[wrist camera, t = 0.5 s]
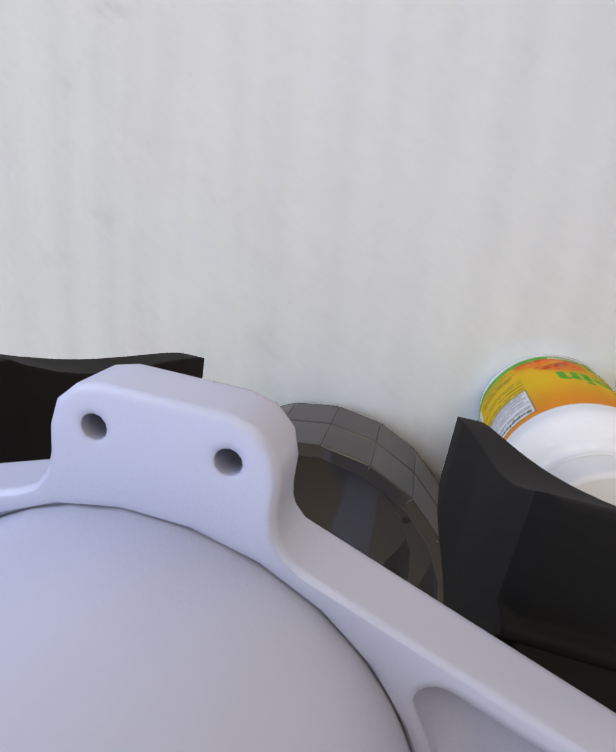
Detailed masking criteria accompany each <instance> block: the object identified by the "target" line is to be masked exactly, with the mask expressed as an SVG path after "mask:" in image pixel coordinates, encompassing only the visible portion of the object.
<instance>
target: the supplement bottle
mask: <svg viewBox="0 0 616 752" xmlns="http://www.w3.org/2000/svg"><path fill="white" fill-rule="evenodd" d="M479 422H483V423H485V424H486V425H488V426H489V427H490V428H492V429H493V430H494V431H495V432H497V433H498V434H499V435H500V436H501V437H503V438H504V439H505V440H506V441H507V442H508V443H510V444H511V445H512V446H513V447H515V448H516V449H517V450H518V451H520V452H521V453H522V454H523V455H525V456H526V457H527V458H529V459H530V460H531V461H533V462H534V463H536V464H537V465H538V466H540V467H541V468H543V469H544V470H546V471H547V472H549V473H551V474H552V475H554V476H556V477H557V478H559V479H561V480H563V481H564V482H566V483H568V484H569V485H571V486H573V487H575V488H577V489H579V490H581V491H583V492H585V493H588V494H590V495H592V496H594V497H596V498H598V499H601V500H603V501H605V502H607V503H610V504H612V505H615V506H616V393H615V392H614V391H613V390H612V389H611V388H610V387H609V386H608V385H607V384H606V383H605V382H604V381H603V380H602V379H601V378H600V377H599V376H598V375H597V374H596V373H595V372H593V371H592V370H591V369H590V368H588V367H587V366H585V365H584V364H582V363H580V362H578V361H576V360H573V359H571V358H567V357H563V356H558V355H536V356H530V357H526V358H523V359H520V360H518V361H516V362H514V363H512V364H510V365H508V366H507V367H505V368H504V369H502V370H501V371H500V372H499V373H498V374H497V375H496V376H495V377H494V378H493V379H492V380H491V381H490V383H489V384H488V385H487V387H486V389H485V391H484V393H483V395H482V398H481V401H480V406H479Z"/></svg>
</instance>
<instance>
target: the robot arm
mask: <svg viewBox="0 0 616 752" xmlns="http://www.w3.org/2000/svg"><path fill="white" fill-rule="evenodd" d="M203 366H204V358H201V357H197V356H193V355H188V354H183V353H158V354H148V355H138V356H128V357H115V358H102V359H45V358H31V357H18V356H9V355H2V354H0V752H616V506H615V505H612V504H610V503H607V502H605V501H603V500H601V499H598V498H596V497H594V496H592V495H590V494H588V493H585V492H583V491H581V490H579V489H577V488H575V487H573V486H571V485H569V484H568V483H566V482H564V481H563V480H561V479H559V478H557V477H556V476H554V475H552V474H551V473H549V472H547V471H546V470H544V469H543V468H541V467H540V466H538V465H537V464H536V463H534V462H533V461H531V460H530V459H529V458H527V457H526V456H525V455H523V454H522V453H521V452H520V451H518V450H517V449H516V448H515V447H513V446H512V445H511V444H510V443H508V442H507V441H506V440H505V439H504V438H503V437H501V436H500V435H499V434H498V433H497V432H495V431H494V430H493V429H492V428H490V427H489V426H488V425H486V424H485V423H483V422H479V421H475V420H470V419H466V418H462V417H458V418H457V422H456V425H455V429H454V433H453V436H452V440H451V443H450V447H449V450H448V454H447V457H446V461H445V465H444V468H443V472H442V475H441V479H440V482H439V491H438V505H437V519H438V531H439V542H440V553H441V563H442V574H443V604H442V603H440V602H439V601H437V600H436V599H434V598H433V597H431V596H429V595H428V594H426V593H425V592H423V591H421V590H420V589H418V588H417V587H415V586H414V585H412V584H410V583H409V582H407V581H406V580H404V579H402V578H401V577H399V576H398V575H396V574H395V573H393V572H391V571H390V570H388V569H387V568H385V567H383V566H382V565H380V564H379V563H377V562H376V561H374V560H372V559H371V558H369V557H368V556H366V555H365V554H363V553H361V552H360V551H358V550H357V549H355V548H353V547H352V546H350V545H349V544H347V543H346V542H344V541H342V540H341V539H339V538H338V537H336V536H334V535H333V534H331V533H330V532H328V531H327V530H325V529H323V528H322V527H320V526H319V525H317V524H316V523H314V522H312V521H311V520H309V519H308V518H306V517H305V516H304V514H303V513H302V512H301V510H300V509H299V507H298V506H297V504H296V502H295V498H294V494H293V491H294V477H295V471H296V465H297V459H298V447H297V438H296V430H295V426H294V425H293V424H292V422H291V421H290V419H289V418H288V417H287V415H286V414H285V412H284V411H283V410H282V408H281V407H280V405H279V404H278V403H276V402H274V401H272V400H270V399H268V398H266V397H264V396H262V395H260V394H258V393H256V392H254V391H252V390H248V389H244V388H240V387H236V386H231V385H227V384H223V383H219V382H215V381H210V380H206V379H202V377H203Z"/></svg>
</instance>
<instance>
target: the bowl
mask: <svg viewBox="0 0 616 752" xmlns="http://www.w3.org/2000/svg"><path fill="white" fill-rule="evenodd" d="M280 407H281V408H282V410H283V411H284V412H285V414H286V415H287V417H288V418H289V419H290V421H291V422H292V424H293V425H294V426H295V430H296V438H297V447H298V459H297V465H296V471H295V477H294V491H293V494H294V498H295V502H296V504H297V506H298V507H299V509H300V510H301V512H302V513H303V514H304V516H305V517H306V518H308V519H309V520H311V521H312V522H314V523H316V524H317V525H319V526H320V527H322V528H323V529H325V530H327V531H328V532H330V533H331V534H333V535H334V536H336V537H338V538H339V539H341V540H342V541H344V542H346V543H347V544H349V545H350V546H352V547H353V548H355V549H357V550H358V551H360V552H361V553H363V554H365V555H366V556H368V557H369V558H371V559H372V560H374V561H376V562H377V563H379V564H380V565H382V566H383V567H385V568H387V569H388V570H390V571H391V572H393V573H395V574H396V575H398V576H399V577H401V578H402V579H404V580H406V581H407V582H409V583H410V584H412V585H414V586H415V587H417V588H418V589H420V590H421V591H423V592H425V593H426V594H428V595H429V596H431V597H433V598H434V599H436V600H437V601H439V602H440V603H442V604H443V574H442V563H441V553H440V542H439V531H438V519H437V505H438V491H439V484H438V483H437V481H436V480H435V478H434V477H433V475H432V474H431V473H430V471H429V470H428V468H427V467H426V465H425V464H424V462H423V461H422V459H421V458H420V456H419V455H418V453H417V452H416V451H415V450H414V449H413V448H412V447H410V446H409V445H408V444H407V443H405V442H404V441H403V440H402V439H400V438H399V437H398V436H397V435H395V434H394V433H393V432H392V431H390V430H389V429H388V428H387V427H385V426H384V425H383V424H380V423H379V422H376V421H374V420H372V419H369V418H367V417H364V416H362V415H359V414H357V413H354V412H352V411H349V410H347V409H344V408H342V407H339V406H330V405H319V404H308V403H292V404H288V405H283V406H280Z"/></svg>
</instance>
